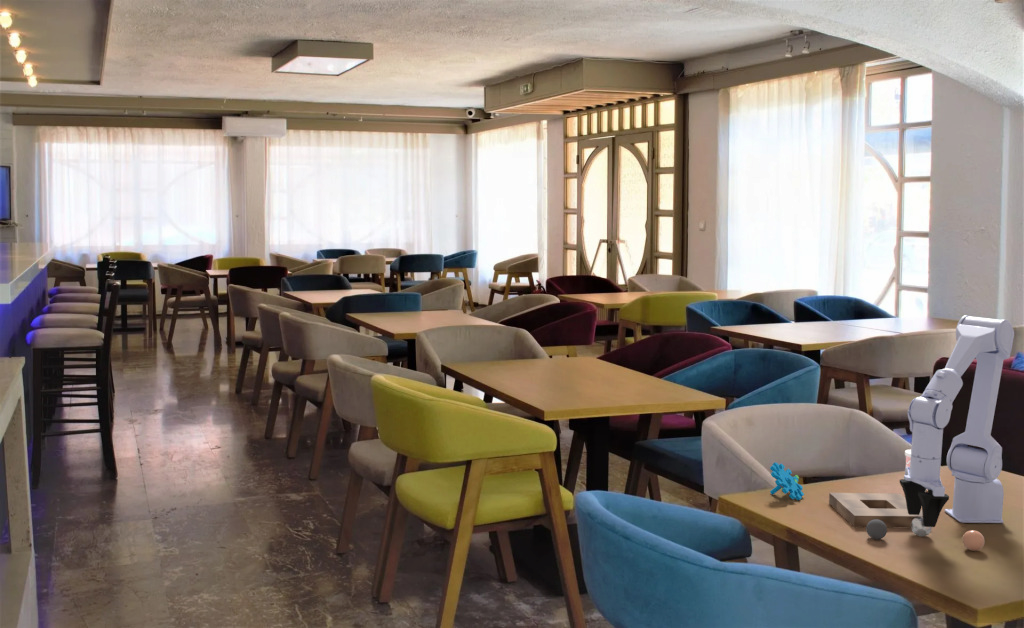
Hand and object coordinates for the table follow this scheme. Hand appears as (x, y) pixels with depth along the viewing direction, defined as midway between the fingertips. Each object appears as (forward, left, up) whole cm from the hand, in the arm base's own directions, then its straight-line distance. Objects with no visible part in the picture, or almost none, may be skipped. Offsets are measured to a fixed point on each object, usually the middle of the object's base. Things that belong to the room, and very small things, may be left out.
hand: (921, 520), depth 203 cm
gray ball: (+10, +2, -1) cm, 10 cm away
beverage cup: (-13, -33, -4) cm, 36 cm away
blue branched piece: (+20, -26, -4) cm, 33 cm away
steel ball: (0, 0, -1) cm, 1 cm away
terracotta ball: (-7, +8, -1) cm, 11 cm away
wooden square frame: (+4, -13, -3) cm, 14 cm away
